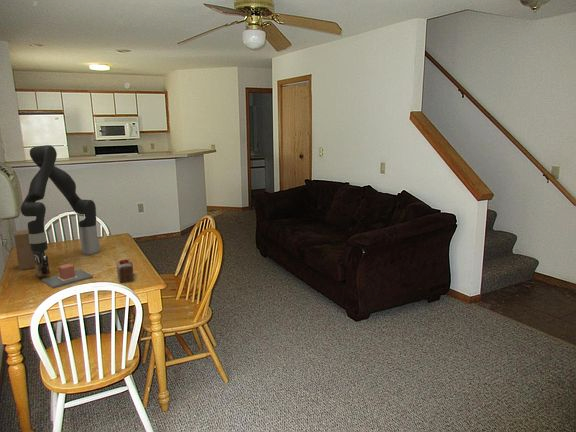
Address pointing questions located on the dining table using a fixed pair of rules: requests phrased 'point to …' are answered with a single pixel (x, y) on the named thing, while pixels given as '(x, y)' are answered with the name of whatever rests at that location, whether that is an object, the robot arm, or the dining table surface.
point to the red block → (66, 271)
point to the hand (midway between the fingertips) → (42, 272)
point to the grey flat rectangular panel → (57, 281)
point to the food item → (125, 270)
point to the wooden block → (24, 250)
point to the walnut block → (39, 270)
